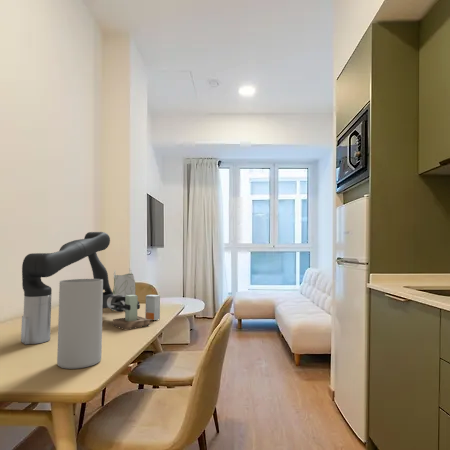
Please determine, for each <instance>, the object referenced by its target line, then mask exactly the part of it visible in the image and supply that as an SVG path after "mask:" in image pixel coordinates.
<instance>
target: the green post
mask: <svg viewBox="0 0 450 450" xmlns="http://www.w3.org/2000/svg"><path fill="white" fill-rule="evenodd" d="M138 299H139V296H138V295H126V298H125V304H127V305H130V306H131V309H130V310H126V309H125V311H124V318H125V321H134V320H137V316H138V309H137V304H138V301H139V300H138Z"/></svg>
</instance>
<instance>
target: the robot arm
mask: <svg viewBox="0 0 450 450" xmlns="http://www.w3.org/2000/svg"><path fill="white" fill-rule="evenodd" d="M110 243H111V237H110V235H109V234H108V233H107V232H105V231H89V232H87V233H86V234H85V235H84V238H82V239H81V238H80V239H75V240H71V241H69V242H66V243H64V244H63V245H61V247H60V248H59V250H58V251H55V252H51V253H50V252H45V253H43V252H42V253H41V252H39V253H38V252H37V253H36V252H35V253H28V254H27V255H26V256H25V257H24V258H23V261H22V266H21V276H22V277H21V279H22V280H21V281H22V283H21V286H22V290H23V292H24V293H23V296H24V297H23V315H22V316H21V332H20V333H21V334H20V342H21V343H22V344H24V345H34V344H36V345H37V344H43V343H46V342H49V341H50V340H51V326H52V325H51V320H52V287H51V286H50V285H48V284H46V283H44V282H43V281H42V278H49V277H52V276H53V275H55V274H57V273H58V272H60V271H62V269H64V268H66V267H69V266H70V265H72V264H74V263H77V262H79V261H81V260H83V259H85V258H86V257H87V258H88V261H89V264H90V268H91V272H92V275H93V279H102V280H103V307H102V309H111V311H112V310H115V311H114V312H118V313H122V312H125V309H126V310H130V309H131V306H130V305H127V304H125V298H126V297H125V296H121V295H114V294H113V289H111V286H110V281H109V280H110V279H109V274H108V271H107V268H106V267H105V264H103V263H102V261H101V260H100V258H99V256H98V255H97V254H98V253H97V252H102V251H104V250H106V249H108V248H109V246H110ZM140 308H141V304H140V301H139V300H138V304H137V310H139V309H140Z"/></svg>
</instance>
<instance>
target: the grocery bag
mask: <svg viewBox="0 0 450 450" xmlns="http://www.w3.org/2000/svg"><path fill="white" fill-rule="evenodd" d="M128 269H129V272H130V273H125V274H121V275H120V274H119V275H118V274H117V273H116V270H115V269H114V271H113V289H112V292H113V294H114V295H121V296H125V297H126V295H136V280H135V276H134V274H133V273H132V269H131V268H128ZM111 312H114V311H113V310H112V309H111Z"/></svg>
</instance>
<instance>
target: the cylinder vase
mask: <svg viewBox="0 0 450 450" xmlns="http://www.w3.org/2000/svg"><path fill="white" fill-rule="evenodd" d="M58 286H59V290H58V317H57V319H58V320H57V321H58V323H57V324H58V325H57V328H58V329H57V352H56V355H57V357H56V363H57V366H58V367H59V368H62V369H65V370H66V369H67V370H76V369H84V368H89V367H92V366H95V365H97V364H99V363H100V361H101V360H102V352H103V350H102V348H103V344H102V342H103V341H102V339H103V308H102V307H103V292H104V290H103V280H102V279H94V278H74V279H63V280H59V285H58Z"/></svg>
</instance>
